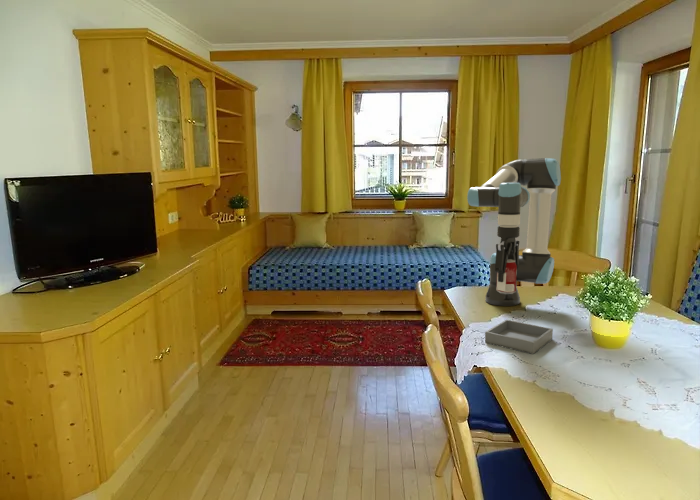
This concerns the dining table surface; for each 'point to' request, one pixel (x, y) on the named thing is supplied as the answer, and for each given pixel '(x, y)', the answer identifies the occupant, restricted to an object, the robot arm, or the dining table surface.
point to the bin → (519, 336)
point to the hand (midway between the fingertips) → (506, 288)
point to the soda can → (509, 277)
